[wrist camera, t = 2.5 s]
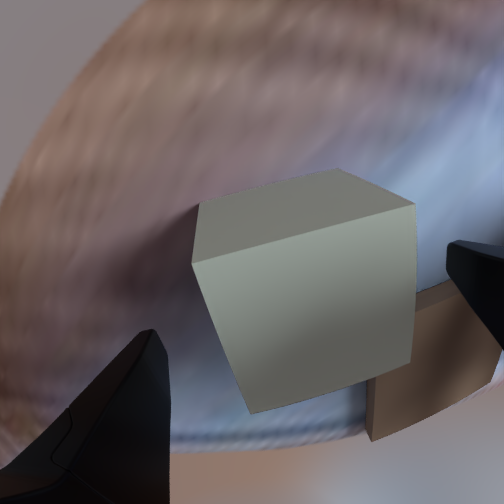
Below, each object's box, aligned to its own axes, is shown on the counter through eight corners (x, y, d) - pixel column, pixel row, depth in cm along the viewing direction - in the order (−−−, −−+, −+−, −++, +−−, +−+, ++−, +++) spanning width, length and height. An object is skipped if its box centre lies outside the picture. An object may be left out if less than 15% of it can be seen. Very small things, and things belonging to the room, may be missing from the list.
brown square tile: (510, 252, 14) (524, 261, 13) (481, 372, 18) (490, 381, 17) (365, 311, 14) (376, 327, 12) (365, 428, 18) (371, 442, 16)
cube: (336, 167, 11) (415, 203, 6) (352, 285, 13) (410, 362, 8) (199, 202, 11) (191, 263, 6) (236, 318, 13) (250, 414, 8)
